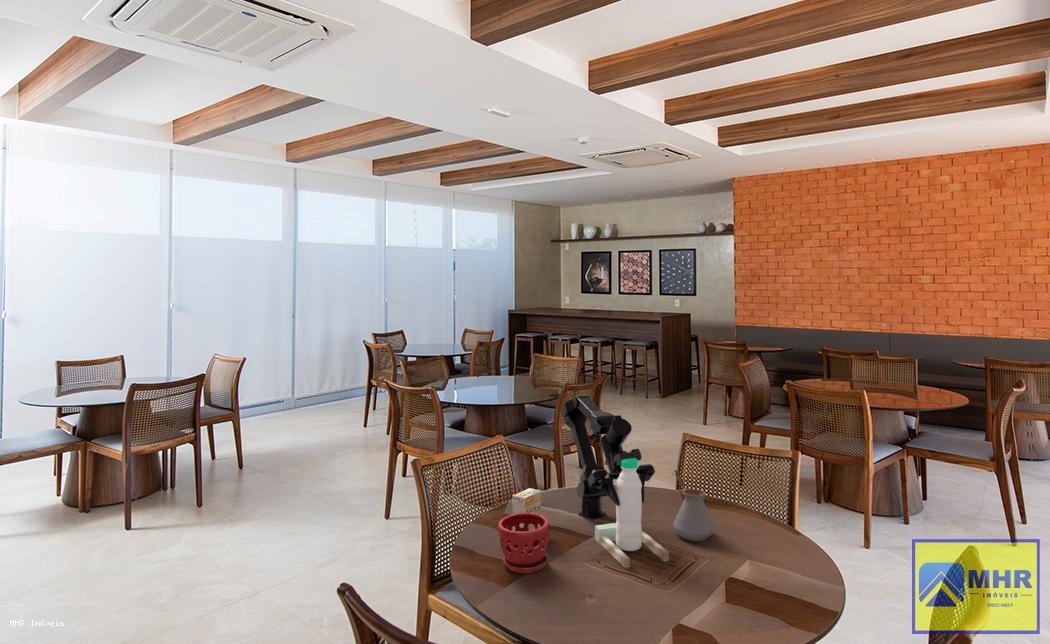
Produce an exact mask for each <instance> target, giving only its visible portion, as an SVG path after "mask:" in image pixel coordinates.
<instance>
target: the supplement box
mask: <svg viewBox="0 0 1050 644" xmlns="http://www.w3.org/2000/svg"><path fill="white" fill-rule="evenodd" d="M511 497H512V499H511V500H512V503H511V504H512V505H511V506H512V515H513V514H518V513H534V514H539V515H542V491H541V490H539V489H535V488H530V487H529V488H527V489H524V490H522V491H519V492H517V493H514V494H512V495H511ZM519 526H520V527H521V528H522V527H524V524H523V523H521V524H520V525H519ZM538 527H539V528H540V527H541V526H540V524H538ZM528 529H529V530H530V531H532V530H535V527H534V525H533V524H529V525H528ZM514 530H515V527H514V526H513V527H512V531H514ZM518 532H519V531H518Z"/></svg>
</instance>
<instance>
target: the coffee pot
mask: <svg viewBox="0 0 1050 644" xmlns="http://www.w3.org/2000/svg"><path fill="white" fill-rule="evenodd" d="M673 472H674V473H675V474H673ZM671 475H672V476H674V475H675V477H676V478H677V481H678V483H679V485H680V486H681V488H682V489H683V490H682V495H684V496H683V497H684V499H683V501H682V504H681V505H680V508H679V511H678V513H677V515H676V517H675V518H674V522H673V528H674V530H675V532H676V533H677V534H678V535H679V536H680V537H681V538H682V539H684V540H687V541H690V542H703V541H705V540H707V539H708V538H710V537H711V536H712V534H713V533H714V531H715V525H714V523H713V520H712V519H711V516H710V514H709V511H708V509H707V506H706V504H705V501H704V497H705V496H706V493H707V492H706V491H704V490H702V489H696V488H688V489H687V488H686V485H685V483H684V480H683V478H681V475H680V472H679V471H678V470H676V469H674V470H672V472H671Z"/></svg>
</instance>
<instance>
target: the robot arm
mask: <svg viewBox="0 0 1050 644" xmlns="http://www.w3.org/2000/svg"><path fill="white" fill-rule="evenodd" d="M560 415H561V417H562V418H563V421H564V424H565V425H566V426H567V427H568V428H569V429H570V430H571V432H572V435H573V436H572V437H573V439H574V442H575V446H576V450H577V455H578V459H579V462H580V464H581V468H582V469H581V472H580V473H581V474H580V476H579V480H580V481H579V483H578V485H577V486H576V495H577V496H578V497H579V498H581V511H579V512H578V514H577V515H578V516H582V517H585V518H588V519H591V520H596V519H597V520H598V518H601V517H603V516H605V515H606V514H607V513H606V512H605V511H603V505H602V503H603V497H607V496H608V497H609V499H610V500H611V501H612V502H613V503H614V504H615V506H616V505H617V506H619V505H620V503H619V499H618V496H617V493H616V492H617V490H616V489H615V485H614V480H617V479H618V477H619V475H620V473H621V472H622V468H621V465H622V464H621V461H622V460H624V459H630V458H636V459H637V461H638V462H639V461H642V453H641V451H640V448H633V449H631V450H630V451H629V452H628V451H626V450H624V448H623V446H622V445H623V444H624V443H625V442H626V440H627V438H628V437H629V435H630V434H631V432H632V430H633V429H632V424H631V423H630V422H629V421H628V420H627V419H625V418H622V415H621V414H616V415H614V414H612V413H611V412H608V411H605V410H602V409H601V408H599V406H597V404H595V402H594V401H593V400H592V399H591V397H590V395H587V394H583V395H582V394H581V395H575V396H573V397H572V399H569V400H568V401H565V402H564V403H563V405H562V406H561V408H560ZM587 420H588V421H589V422H590V427H589V428H590V429H591V431H592V433H593V434H594V435H596V436H602V437H600V440H599V443H598V447H599V448H601V449H602V453H603V454H604V459H605V460H604V465H605V466H607V468H608V471H609V472H608V471H607V469H605V468H604V466H602V465H601V466H599V465H598V464H597V461H596V457H595V454H594V451H593V448H592V447H593V446H592V443H591V439H590V437H589V434H588V430H587V426H586V421H587ZM636 472H637V474H638V476H639V479H640V481H641V483H642V488H641V496H642V504H643V503H645V483H646V482H648V481H650V480H651V479H652V477H653V476H654V474H655V473H656V470H655V467H654V466H653V465H652V464H651V463H645V464H640V465H639V464H638V466H637V469H636Z"/></svg>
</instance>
